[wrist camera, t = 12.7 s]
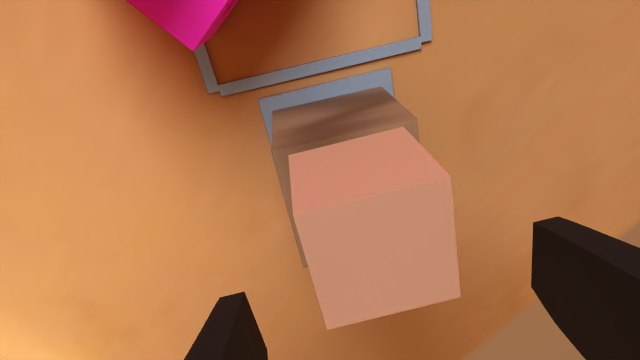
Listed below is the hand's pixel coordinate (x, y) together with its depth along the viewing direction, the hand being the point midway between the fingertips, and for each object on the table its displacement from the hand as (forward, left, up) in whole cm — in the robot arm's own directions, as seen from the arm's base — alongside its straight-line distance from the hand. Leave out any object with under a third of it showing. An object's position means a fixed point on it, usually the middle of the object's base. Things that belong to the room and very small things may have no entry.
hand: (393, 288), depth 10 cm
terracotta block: (0, 0, -5) cm, 5 cm away
